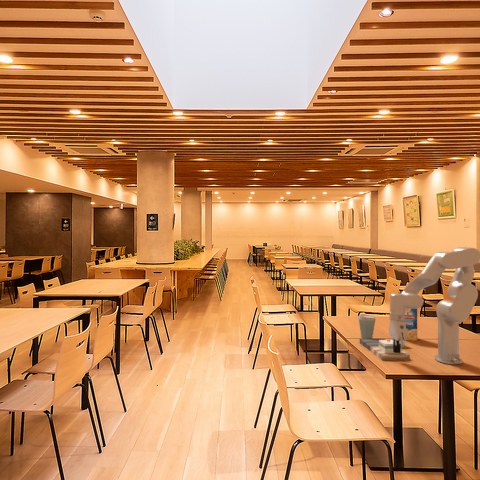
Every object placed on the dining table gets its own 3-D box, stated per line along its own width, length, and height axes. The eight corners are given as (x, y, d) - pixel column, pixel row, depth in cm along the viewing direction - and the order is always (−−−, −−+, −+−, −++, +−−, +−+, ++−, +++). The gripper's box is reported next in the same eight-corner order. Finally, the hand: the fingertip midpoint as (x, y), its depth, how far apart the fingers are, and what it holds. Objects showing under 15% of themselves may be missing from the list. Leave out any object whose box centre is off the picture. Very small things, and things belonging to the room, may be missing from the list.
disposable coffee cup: (371, 336, 242) (371, 313, 242) (378, 341, 231) (378, 317, 231) (355, 336, 241) (355, 313, 241) (361, 341, 231) (361, 317, 231)
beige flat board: (409, 359, 195) (409, 354, 195) (381, 360, 195) (381, 355, 195) (383, 342, 227) (383, 338, 227) (359, 342, 227) (359, 338, 227)
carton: (401, 353, 198) (401, 342, 198) (385, 353, 198) (385, 343, 198) (394, 348, 206) (394, 338, 206) (378, 349, 206) (378, 338, 206)
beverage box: (417, 340, 231) (417, 305, 231) (398, 339, 235) (398, 304, 235) (417, 338, 237) (417, 303, 237) (398, 336, 242) (398, 302, 242)
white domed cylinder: (407, 347, 217) (407, 339, 217) (395, 347, 217) (395, 339, 217) (401, 344, 224) (401, 335, 224) (390, 344, 224) (390, 336, 224)
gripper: (411, 320, 186) (411, 357, 186) (397, 314, 201) (397, 348, 201) (396, 320, 185) (396, 357, 186) (384, 314, 200) (383, 348, 200)
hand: (396, 352), depth 193 cm, fingers closed
